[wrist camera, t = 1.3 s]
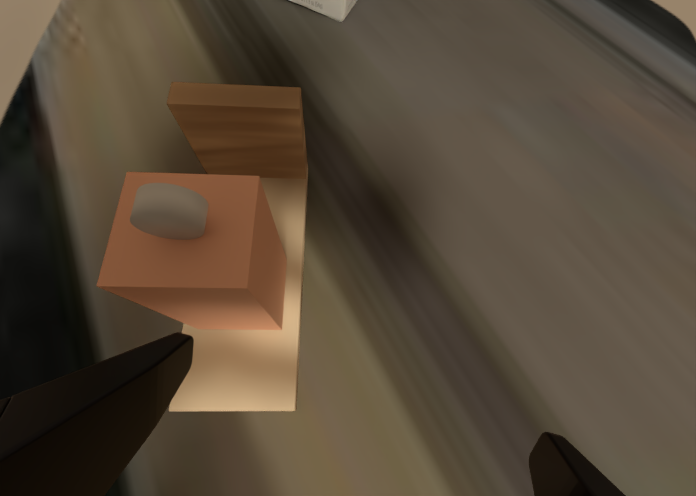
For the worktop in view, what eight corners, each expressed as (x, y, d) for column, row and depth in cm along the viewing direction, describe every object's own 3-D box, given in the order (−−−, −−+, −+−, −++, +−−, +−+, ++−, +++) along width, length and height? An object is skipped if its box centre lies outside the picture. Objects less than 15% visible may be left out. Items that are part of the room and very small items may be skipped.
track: (296, 409, 21) (278, 424, 13) (177, 409, 21) (89, 424, 13) (308, 170, 27) (300, 87, 20) (216, 167, 27) (171, 81, 19)
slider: (282, 330, 21) (230, 268, 10) (198, 329, 21) (47, 266, 10) (286, 260, 23) (247, 139, 12) (208, 258, 23) (90, 133, 11)
